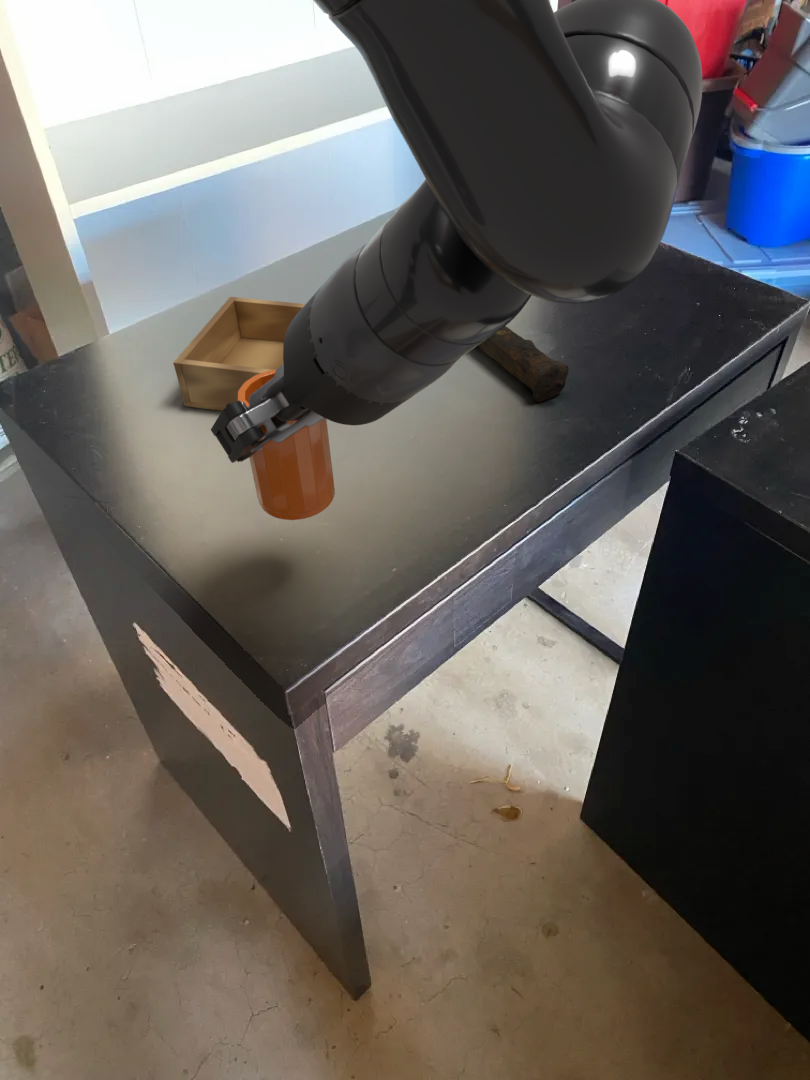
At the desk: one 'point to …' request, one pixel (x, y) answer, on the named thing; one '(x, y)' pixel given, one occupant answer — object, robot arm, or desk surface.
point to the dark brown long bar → (527, 363)
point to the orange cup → (292, 467)
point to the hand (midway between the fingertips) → (271, 427)
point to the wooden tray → (233, 350)
